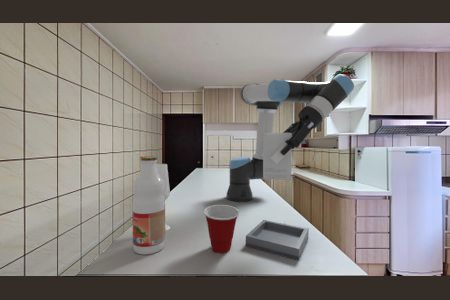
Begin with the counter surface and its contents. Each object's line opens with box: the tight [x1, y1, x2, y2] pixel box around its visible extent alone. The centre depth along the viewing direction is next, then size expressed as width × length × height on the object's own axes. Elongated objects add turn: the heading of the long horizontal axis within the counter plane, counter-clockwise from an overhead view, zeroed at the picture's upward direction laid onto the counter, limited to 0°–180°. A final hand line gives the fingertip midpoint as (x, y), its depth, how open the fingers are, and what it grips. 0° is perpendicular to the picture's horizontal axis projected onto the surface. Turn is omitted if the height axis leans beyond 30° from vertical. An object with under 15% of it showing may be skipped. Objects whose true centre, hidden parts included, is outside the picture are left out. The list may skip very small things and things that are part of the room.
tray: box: [245, 219, 309, 261], centre depth 70 cm, size 16×16×3 cm
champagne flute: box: [156, 163, 171, 232], centre depth 79 cm, size 7×7×24 cm
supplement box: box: [262, 132, 293, 181], centre depth 71 cm, size 9×9×15 cm
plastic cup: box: [203, 204, 240, 254], centre depth 65 cm, size 11×11×12 cm
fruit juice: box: [131, 155, 166, 255], centre depth 65 cm, size 9×9×28 cm
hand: (268, 159), depth 71 cm, fingers closed on supplement box, 10 cm apart
